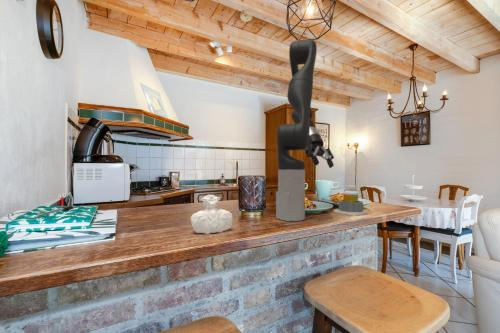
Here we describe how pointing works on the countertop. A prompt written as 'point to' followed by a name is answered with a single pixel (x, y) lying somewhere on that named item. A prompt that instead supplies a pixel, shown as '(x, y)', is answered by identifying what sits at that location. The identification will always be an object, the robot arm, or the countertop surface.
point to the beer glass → (350, 194)
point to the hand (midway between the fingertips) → (324, 165)
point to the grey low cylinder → (351, 208)
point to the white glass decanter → (211, 217)
